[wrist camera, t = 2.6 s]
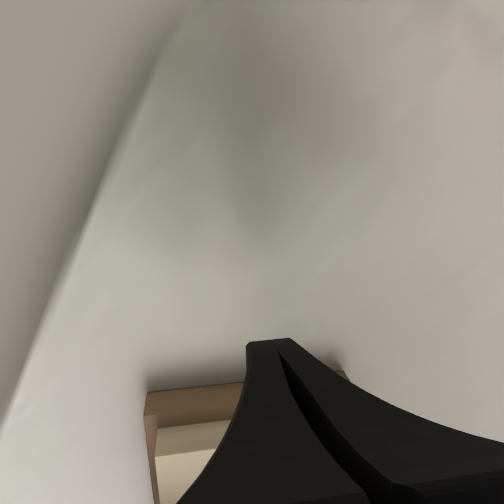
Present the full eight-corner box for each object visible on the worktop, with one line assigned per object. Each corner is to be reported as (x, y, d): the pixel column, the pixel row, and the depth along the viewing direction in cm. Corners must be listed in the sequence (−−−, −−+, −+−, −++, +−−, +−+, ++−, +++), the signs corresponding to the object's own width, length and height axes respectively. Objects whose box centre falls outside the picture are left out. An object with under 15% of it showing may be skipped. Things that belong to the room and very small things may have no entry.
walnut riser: (336, 517, 21) (346, 544, 20) (164, 545, 20) (163, 576, 19) (343, 370, 19) (355, 390, 17) (146, 393, 17) (143, 416, 16)
